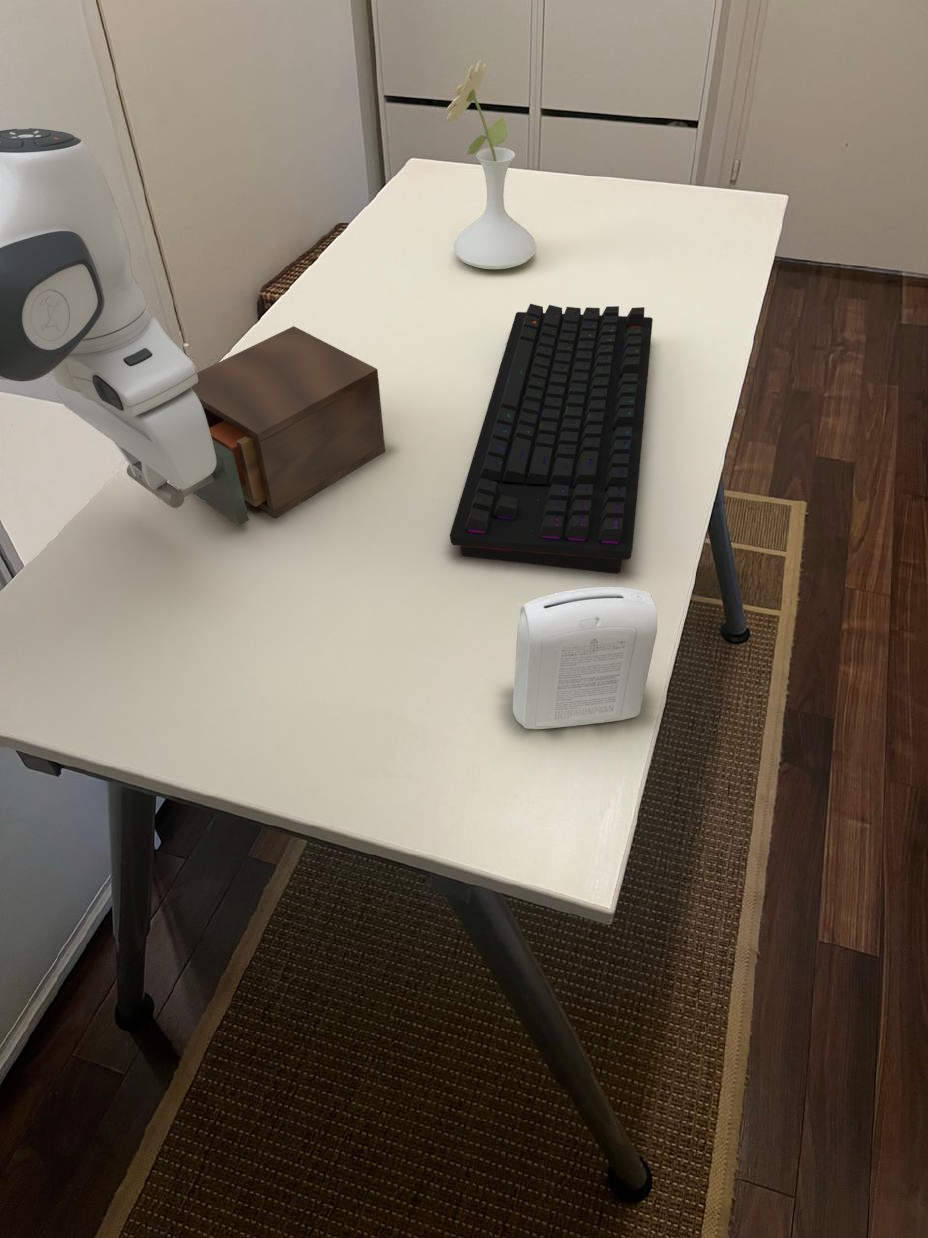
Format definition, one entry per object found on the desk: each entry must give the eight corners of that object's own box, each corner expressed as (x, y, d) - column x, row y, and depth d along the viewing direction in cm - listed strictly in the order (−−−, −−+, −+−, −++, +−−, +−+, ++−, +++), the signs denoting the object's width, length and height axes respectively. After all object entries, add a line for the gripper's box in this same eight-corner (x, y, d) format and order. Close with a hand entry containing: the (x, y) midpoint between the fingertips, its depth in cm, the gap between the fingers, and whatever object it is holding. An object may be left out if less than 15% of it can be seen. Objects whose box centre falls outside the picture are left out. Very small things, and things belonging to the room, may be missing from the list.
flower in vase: (494, 233, 134) (495, 36, 116) (552, 258, 128) (563, 53, 110) (428, 263, 128) (418, 59, 110) (486, 290, 122) (486, 79, 104)
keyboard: (515, 332, 114) (516, 293, 111) (649, 342, 112) (654, 303, 109) (449, 559, 86) (448, 517, 82) (627, 579, 83) (634, 537, 80)
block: (241, 485, 90) (232, 448, 87) (213, 467, 92) (204, 430, 89) (276, 464, 93) (268, 427, 89) (248, 447, 95) (240, 411, 92)
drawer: (196, 552, 85) (175, 484, 80) (126, 499, 91) (102, 432, 85) (346, 462, 95) (337, 395, 89) (274, 419, 100) (262, 353, 95)
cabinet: (275, 518, 90) (257, 434, 83) (197, 465, 96) (174, 382, 89) (385, 451, 97) (377, 368, 90) (306, 406, 104) (293, 325, 97)
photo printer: (633, 679, 75) (653, 567, 66) (647, 721, 72) (670, 609, 63) (508, 694, 74) (511, 582, 65) (517, 737, 71) (522, 626, 62)
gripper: (2, 317, 78) (62, 450, 88) (138, 408, 68) (187, 546, 78) (69, 288, 81) (119, 420, 91) (208, 371, 71) (246, 509, 81)
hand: (151, 479), depth 84 cm, fingers closed, pressing on drawer
